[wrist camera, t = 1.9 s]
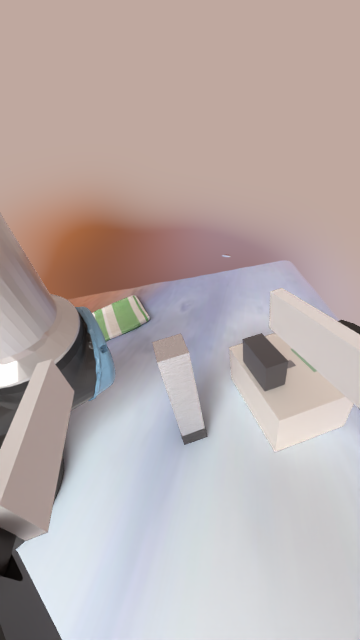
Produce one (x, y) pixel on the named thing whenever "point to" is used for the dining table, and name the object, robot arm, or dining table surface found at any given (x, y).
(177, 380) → the white tall square post
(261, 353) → the knob
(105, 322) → the dish towel
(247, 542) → the dining table surface
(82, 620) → the dining table surface
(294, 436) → the bevelled white plinth
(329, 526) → the dining table surface
